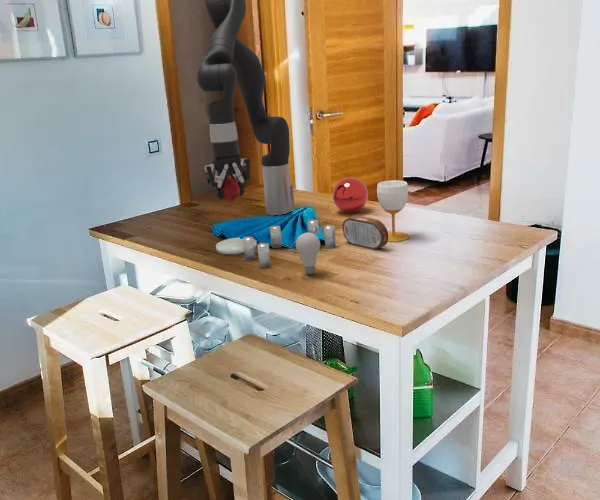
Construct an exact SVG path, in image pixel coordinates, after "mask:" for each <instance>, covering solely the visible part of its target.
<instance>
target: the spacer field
mask: <svg viewBox="0 0 600 500" xmlns="http://www.w3.org/2000/svg"><path fill="white" fill-rule="evenodd" d="M307 229H308V230H307V231H308V232H307V233H313V234H315V235H316V234H319V233H320V230H319V220H318V219H309V220H307ZM335 230H336V227H335V225H334V224H326V225H324V226H323V234H324V236H323V237H324V247H325V248H328V249H333V248H336V246H337V245H336V231H335ZM269 231H270V232H269V233H270V234H269V235H270V242H271V248H272V249H280V248H282V247H283V245H282V246H281V243H282V231H281V226H280V225H275V224H274V225H271V226H269ZM319 235H320V234H319ZM254 239H255V238H254V236H244V238H243V247H244V253H243V255H244V260H245V261H254V260H256V248H257V254H258V255H257V257H258V266H259V268H270V267H271V258H270V246H269V243H268V242H260V243H257V247H256V248H254ZM299 258H300V261H303V260H302V257H301V256H300V257H299Z"/></svg>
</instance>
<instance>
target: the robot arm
mask: <svg viewBox="0 0 600 500" xmlns="http://www.w3.org/2000/svg"><path fill="white" fill-rule="evenodd" d="M204 3H205V7H206V11H207V14H208V16H209V19H210V20H211V21H210V22H211V23H212V25H213V27H214V29H215V31H214V32H213V33H212V35H211V37H210V39H209V40H210V41H209V42H208V43H209V44H208V50H207V54H206V55H205V58H204V59H203V61H202V63H201V64H200V66H199V67H198V70H197V74H196V75H197V77H196V79H197V80H196V81H197V85H198V86H199V88H200V89H201V90H202V91H203V92H206V93H209V92H210V93H211V92H212V93H213V92H214V93H215V92H223V96H222V97H221V98H220V99H215V100H213V101H210V102H208V104H207V112H208V114H207V115H208V120H209V138H210V145H211V146H210V147H211V154H212V158H213V160H212V163H211V164H208V165H205V164H204V165H203V172H204V175H205V179H206V183H207V185H208V186H210V187H214V190H215V197H216V199H218V200H219V201H224V198H223V190H222V187H221V185H222V182H223V181H224V180H225V179H226V177H227V176H228V175H230V176H233V177H234V178H235V179H234V180H235V181H236V182H237V183H238V184H239V186H240V194H239V196H240V197H243V196H244V194H245V182H246V181H247V180H250V172H251V160H250V158H245V157H243V158H241V157H240V149H239V148H240V146H239V135H238V130H237V124H236V119H235V118H236V117H235V108H234V107H235V103H234V102H235V100H234V99H235V93H236V86H238V89H239V92H240V94H241V97H242V99H243V102H244V105H245V108H246V112H247V115H248V118H249V122H250V127H251V129H252V130H251V131H252V133H253V135H254V137H255V139H256V141H257V142H258V143H260V144H263V145H270V151H269V153H267V154H265V155H262V156H261V170H262V182H263V191H264V192H263V193H264V200H265V201H264V203H265V210H266V211H265V212H266V213H265V214H266V215H268V216H274V215H278V214H284V213H288V212H290V211H292V210H294V209H295V199H294V197H295V196H294V185H293V184H291V176H290V164H289V158H290V149H291V148H290V129H289V128H290V127H289V123H288V122H287V120H286V119H285V118H284V117H282V116H269V115H268V114H267V111H266V109H265V105H264V102H263V101H264V98H263V96H264V92H265V85H266V76H265V72H264V69H263V66H262V63H261V61H260V58H259V57H258V55H257V54H256V53H255V52H254V51H253V50H251V48H249V47H248V46H247V45H246V44H245V43H243V42H242V41H241V40H240V39H239V38H238V35H239V33H240V30H241V27H242V24H243V22H244V20H245V17H246V16H245V15H246V12H247V4H246V0H205V1H204ZM240 165H241V171H240V169H239V167H240ZM214 170H215V176H214V175H213V172H214ZM239 196H238V197H239ZM278 216H279V215H278Z"/></svg>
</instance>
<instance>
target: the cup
mask: <svg viewBox="0 0 600 500" xmlns="http://www.w3.org/2000/svg"><path fill="white" fill-rule="evenodd" d="M408 184H409V183H408V182H407V181H405V180H399V179H398V180H397V179H395V180H392V179H391V180H384V181H380V182H378V183H377V187H376V194H377V199H378V203H379V205H380V207H381V208H382V209H383V211H385V212H386V213H388V214H390V215H391V231H388V242H387V243H397V242H398V243H399V242H403V241H406V240H408V239H409V238H410V235H409V234H408V233H406V232H402V231H396V222H395V221H396V220H395V215H396V214H398V213H400V212H401V211H402V210H403V209H404V208H405V206H406V203H407V200H408V196H409V185H408Z"/></svg>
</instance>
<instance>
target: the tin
mask: <svg viewBox="0 0 600 500" xmlns="http://www.w3.org/2000/svg"><path fill="white" fill-rule="evenodd" d="M388 232H389V231H388V229H387V227H386V226H385V224H384V223H383V222H382V221H381V220H379V219H377V218H372V217H366V216H361V215H356V214H353V215H351V216H349V217H348V218H346V219H345V220H343V222H342V234H343V237H344V238H345V240H346V241H347V242H348V243H349V244H351V245H354V246H357V247H362V248H365V249H371V250H378V249H380V248H382V247H385V246H386V245H387V244H388V243H389V242H388Z"/></svg>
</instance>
